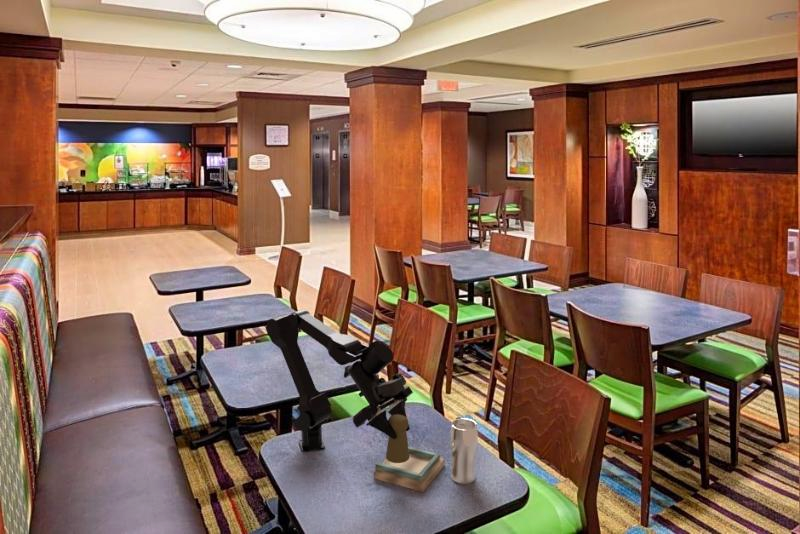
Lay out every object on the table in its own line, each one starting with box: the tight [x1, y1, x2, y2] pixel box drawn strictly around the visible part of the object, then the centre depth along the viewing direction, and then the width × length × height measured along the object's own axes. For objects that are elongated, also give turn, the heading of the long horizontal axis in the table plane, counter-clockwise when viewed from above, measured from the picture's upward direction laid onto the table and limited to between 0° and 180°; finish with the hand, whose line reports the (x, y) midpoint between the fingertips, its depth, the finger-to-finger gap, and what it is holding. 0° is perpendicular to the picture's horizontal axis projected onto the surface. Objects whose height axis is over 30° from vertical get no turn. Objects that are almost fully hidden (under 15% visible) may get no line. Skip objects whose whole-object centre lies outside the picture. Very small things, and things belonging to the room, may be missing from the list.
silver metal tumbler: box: [449, 417, 479, 485], centre depth 152 cm, size 7×7×15 cm
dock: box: [373, 446, 445, 493], centre depth 156 cm, size 14×14×4 cm
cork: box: [385, 414, 409, 463], centre depth 150 cm, size 6×6×11 cm
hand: (402, 434), depth 149 cm, fingers closed on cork, 5 cm apart
